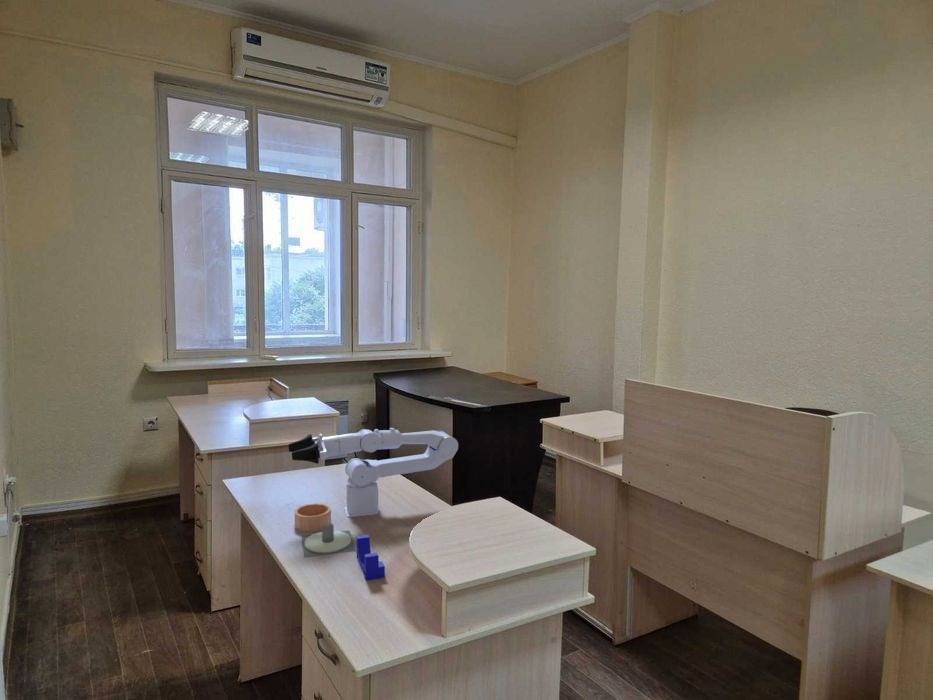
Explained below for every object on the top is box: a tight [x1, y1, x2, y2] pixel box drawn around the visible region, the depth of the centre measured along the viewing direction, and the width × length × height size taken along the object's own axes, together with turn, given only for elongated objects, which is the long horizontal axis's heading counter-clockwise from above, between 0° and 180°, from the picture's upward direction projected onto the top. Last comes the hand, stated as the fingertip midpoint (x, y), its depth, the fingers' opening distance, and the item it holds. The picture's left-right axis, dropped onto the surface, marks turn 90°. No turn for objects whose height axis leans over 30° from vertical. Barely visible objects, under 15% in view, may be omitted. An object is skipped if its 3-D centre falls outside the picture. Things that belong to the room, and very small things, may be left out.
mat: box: [301, 529, 357, 558], centre depth 155 cm, size 13×13×1 cm
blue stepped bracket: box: [356, 534, 386, 582], centre depth 143 cm, size 12×4×6 cm, turn 21°
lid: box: [305, 523, 352, 553], centre depth 155 cm, size 12×12×5 cm
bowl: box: [294, 502, 332, 533], centre depth 167 cm, size 10×10×4 cm
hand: (290, 452), depth 167 cm, fingers open, 7 cm apart
